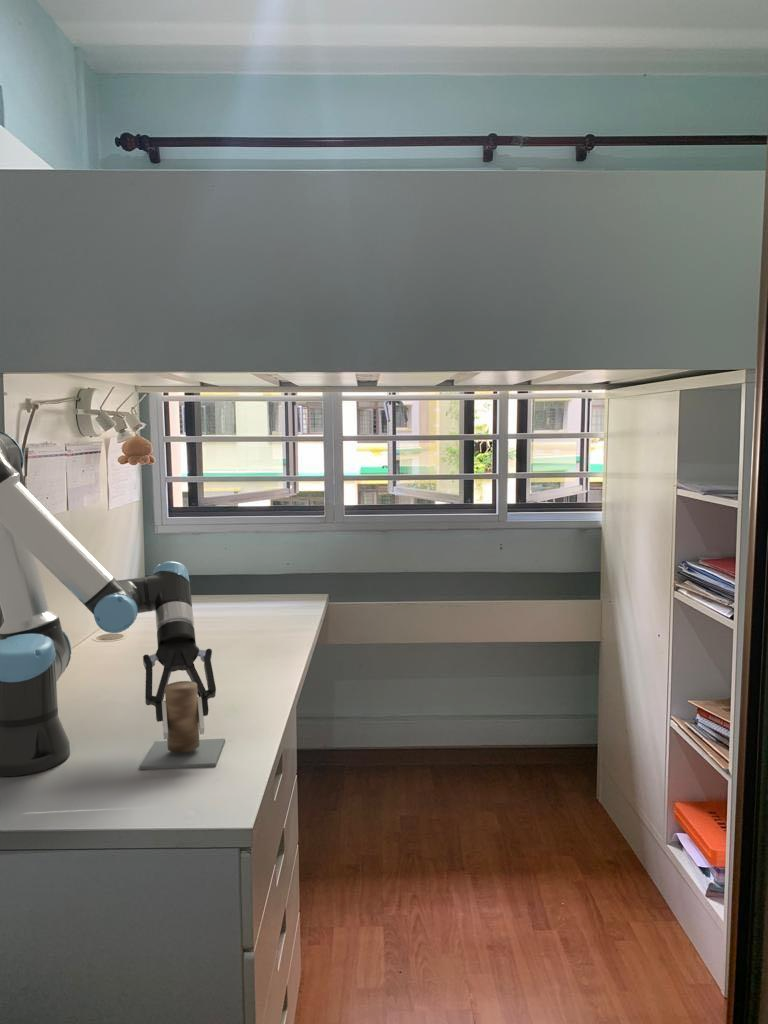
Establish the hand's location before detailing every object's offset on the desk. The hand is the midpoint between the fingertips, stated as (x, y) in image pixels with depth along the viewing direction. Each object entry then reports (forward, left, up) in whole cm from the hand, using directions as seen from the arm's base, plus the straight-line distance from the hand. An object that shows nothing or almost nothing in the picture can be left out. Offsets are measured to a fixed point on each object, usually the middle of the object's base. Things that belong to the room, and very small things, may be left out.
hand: (184, 733), depth 144 cm
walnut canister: (-1, +3, -4) cm, 5 cm away
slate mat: (-1, +3, -6) cm, 7 cm away
